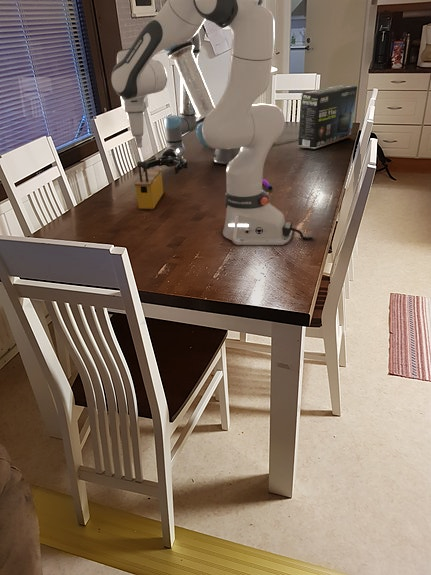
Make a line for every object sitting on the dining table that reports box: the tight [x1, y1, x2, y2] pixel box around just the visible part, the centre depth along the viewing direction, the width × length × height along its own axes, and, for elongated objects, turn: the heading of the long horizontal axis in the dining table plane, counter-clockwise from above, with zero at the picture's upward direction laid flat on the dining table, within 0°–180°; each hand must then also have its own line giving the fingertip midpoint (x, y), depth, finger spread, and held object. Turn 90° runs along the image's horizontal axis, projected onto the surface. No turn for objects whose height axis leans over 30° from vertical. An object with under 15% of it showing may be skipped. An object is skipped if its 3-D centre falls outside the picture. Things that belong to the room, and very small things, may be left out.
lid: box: [134, 161, 162, 187], centre depth 172 cm, size 18×6×8 cm, turn 173°
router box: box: [297, 84, 358, 151], centre depth 238 cm, size 36×11×27 cm, turn 134°
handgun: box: [262, 177, 274, 192], centre depth 191 cm, size 21×8×2 cm, turn 11°
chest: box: [135, 171, 164, 210], centre depth 177 cm, size 17×6×9 cm, turn 173°
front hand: (139, 144), depth 161 cm, fingers open, 8 cm apart
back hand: (160, 170), depth 192 cm, fingers open, 13 cm apart
